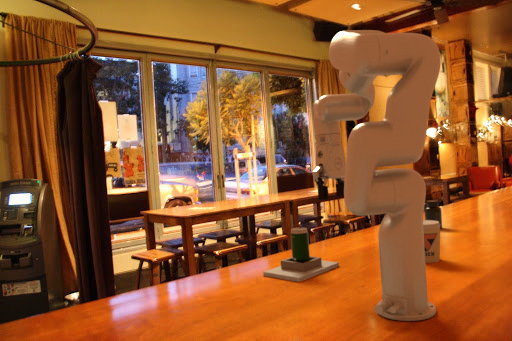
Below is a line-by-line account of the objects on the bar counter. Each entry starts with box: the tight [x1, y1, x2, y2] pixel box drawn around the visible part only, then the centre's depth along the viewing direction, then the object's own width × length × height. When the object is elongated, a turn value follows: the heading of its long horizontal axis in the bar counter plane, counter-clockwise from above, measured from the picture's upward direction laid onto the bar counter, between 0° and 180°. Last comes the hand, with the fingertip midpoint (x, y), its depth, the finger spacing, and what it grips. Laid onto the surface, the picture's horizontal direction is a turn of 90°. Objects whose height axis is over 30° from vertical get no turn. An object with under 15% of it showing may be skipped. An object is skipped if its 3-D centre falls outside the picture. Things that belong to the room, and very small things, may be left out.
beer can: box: [290, 227, 311, 263], centre depth 140 cm, size 5×5×12 cm
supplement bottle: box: [424, 199, 443, 230], centre depth 196 cm, size 7×7×12 cm
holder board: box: [262, 255, 340, 283], centre depth 141 cm, size 20×14×4 cm
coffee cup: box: [423, 219, 441, 264], centre depth 143 cm, size 9×9×12 cm
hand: (332, 198), depth 135 cm, fingers open, 9 cm apart
